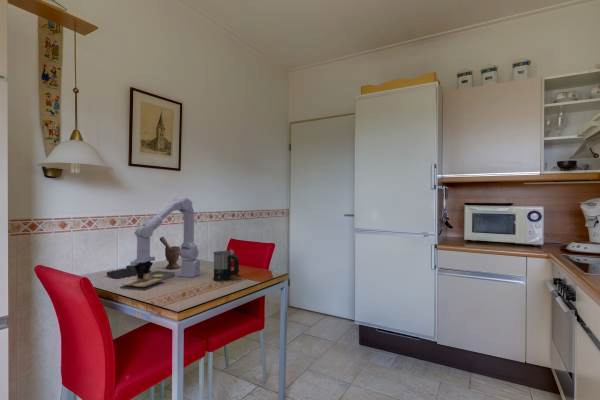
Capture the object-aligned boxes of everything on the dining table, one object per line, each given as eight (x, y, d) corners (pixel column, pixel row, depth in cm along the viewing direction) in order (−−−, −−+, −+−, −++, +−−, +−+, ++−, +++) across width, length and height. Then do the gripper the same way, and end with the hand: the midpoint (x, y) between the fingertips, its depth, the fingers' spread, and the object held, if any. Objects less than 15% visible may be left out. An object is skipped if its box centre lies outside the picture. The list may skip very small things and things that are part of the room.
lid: (162, 280, 157) (163, 272, 157) (144, 287, 145) (144, 278, 145) (141, 278, 160) (141, 269, 160) (121, 284, 148) (121, 275, 148)
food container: (223, 268, 193) (224, 252, 193) (216, 267, 196) (217, 251, 196) (237, 265, 203) (237, 250, 203) (230, 264, 207) (231, 249, 207)
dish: (174, 276, 172) (174, 272, 172) (160, 281, 161) (160, 277, 161) (156, 274, 175) (156, 270, 175) (140, 279, 164) (140, 275, 164)
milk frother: (212, 281, 162) (212, 253, 162) (214, 274, 177) (214, 248, 177) (239, 281, 165) (240, 253, 165) (239, 274, 180) (240, 248, 180)
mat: (164, 282, 158) (164, 281, 158) (144, 290, 144) (144, 289, 144) (141, 280, 161) (141, 279, 161) (119, 288, 147) (119, 287, 148)
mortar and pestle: (166, 271, 183) (166, 237, 183) (157, 269, 187) (157, 236, 188) (182, 267, 193) (183, 235, 193) (173, 266, 197) (174, 234, 197)
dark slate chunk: (102, 276, 171) (102, 267, 171) (141, 269, 189) (141, 261, 189) (116, 280, 162) (116, 271, 162) (155, 272, 181) (155, 264, 181)
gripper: (147, 247, 161) (146, 273, 161) (125, 252, 147) (124, 280, 147) (158, 248, 159) (158, 274, 159) (137, 252, 145) (137, 281, 145)
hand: (142, 277), depth 153 cm, fingers closed on lid, 2 cm apart
